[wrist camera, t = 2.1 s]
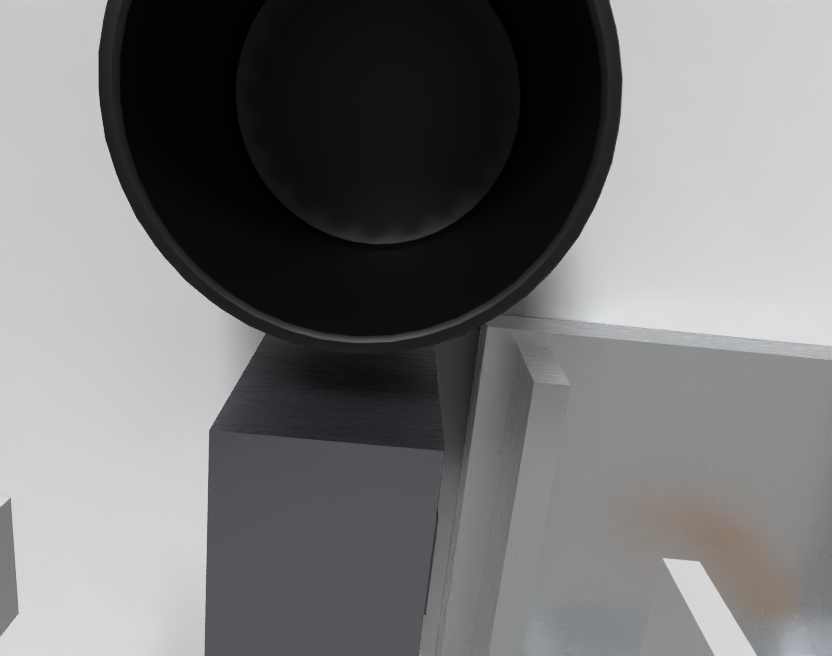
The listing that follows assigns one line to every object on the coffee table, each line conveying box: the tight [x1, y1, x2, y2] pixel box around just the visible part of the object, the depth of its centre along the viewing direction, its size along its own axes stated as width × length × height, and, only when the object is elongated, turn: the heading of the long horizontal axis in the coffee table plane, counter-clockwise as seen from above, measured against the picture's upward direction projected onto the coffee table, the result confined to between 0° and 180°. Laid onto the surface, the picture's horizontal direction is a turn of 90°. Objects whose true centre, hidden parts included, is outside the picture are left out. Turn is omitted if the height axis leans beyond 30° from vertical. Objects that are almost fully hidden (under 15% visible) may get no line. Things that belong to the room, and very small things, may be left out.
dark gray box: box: [205, 333, 445, 656], centre depth 20 cm, size 5×6×10 cm
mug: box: [99, 0, 623, 354], centre depth 17 cm, size 9×12×9 cm
